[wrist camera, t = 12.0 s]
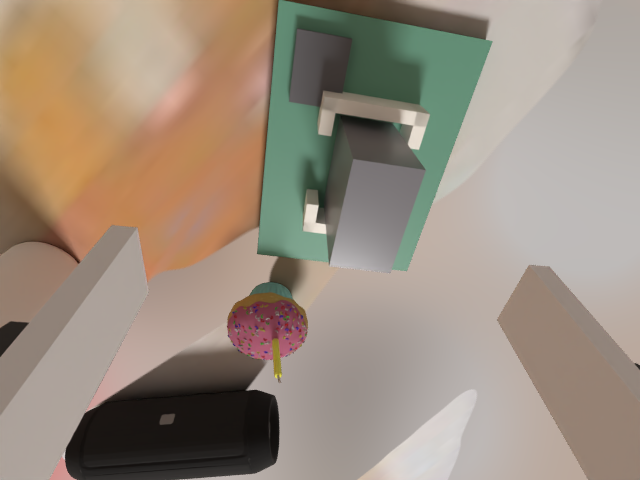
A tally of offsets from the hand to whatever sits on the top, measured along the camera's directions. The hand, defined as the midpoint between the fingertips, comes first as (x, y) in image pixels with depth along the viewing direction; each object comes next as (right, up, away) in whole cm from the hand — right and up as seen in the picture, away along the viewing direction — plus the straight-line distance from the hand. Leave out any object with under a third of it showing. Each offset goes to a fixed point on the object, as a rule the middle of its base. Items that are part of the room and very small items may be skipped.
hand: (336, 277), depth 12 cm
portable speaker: (-20, -22, +40) cm, 50 cm away
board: (+3, +9, +20) cm, 22 cm away
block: (+3, +8, +20) cm, 21 cm away
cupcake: (-6, -5, +30) cm, 31 cm away
